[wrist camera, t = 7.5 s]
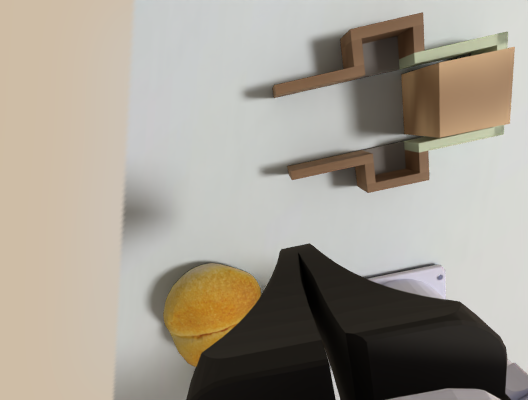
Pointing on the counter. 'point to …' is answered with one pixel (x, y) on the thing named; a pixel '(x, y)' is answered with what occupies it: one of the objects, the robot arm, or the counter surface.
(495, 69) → the oak block
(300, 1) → the counter surface
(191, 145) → the counter surface
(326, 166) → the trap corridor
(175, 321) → the bread roll
